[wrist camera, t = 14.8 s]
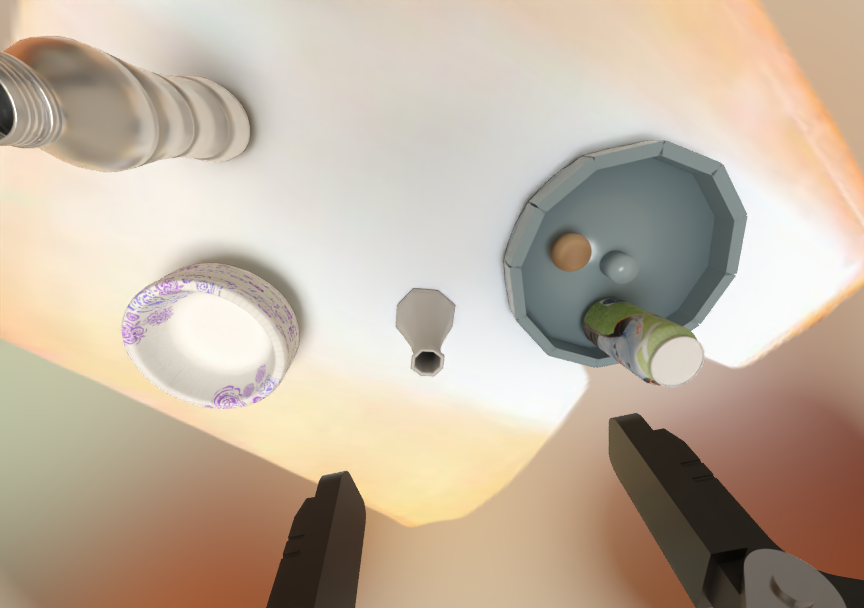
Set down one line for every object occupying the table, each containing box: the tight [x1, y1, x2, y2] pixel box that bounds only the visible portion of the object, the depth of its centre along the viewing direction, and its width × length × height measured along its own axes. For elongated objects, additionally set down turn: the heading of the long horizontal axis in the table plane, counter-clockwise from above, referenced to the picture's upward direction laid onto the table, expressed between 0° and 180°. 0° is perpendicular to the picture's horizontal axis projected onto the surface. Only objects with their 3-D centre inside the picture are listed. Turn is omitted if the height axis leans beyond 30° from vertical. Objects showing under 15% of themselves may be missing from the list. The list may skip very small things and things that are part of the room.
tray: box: [504, 141, 747, 367], centre depth 38 cm, size 24×24×4 cm
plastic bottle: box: [0, 36, 250, 172], centre depth 23 cm, size 6×7×20 cm
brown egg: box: [550, 233, 592, 272], centre depth 35 cm, size 4×4×4 cm
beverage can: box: [583, 298, 704, 387], centre depth 35 cm, size 6×7×12 cm
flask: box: [396, 289, 455, 376], centre depth 37 cm, size 7×7×10 cm
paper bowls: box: [122, 263, 300, 409], centre depth 37 cm, size 15×15×8 cm
